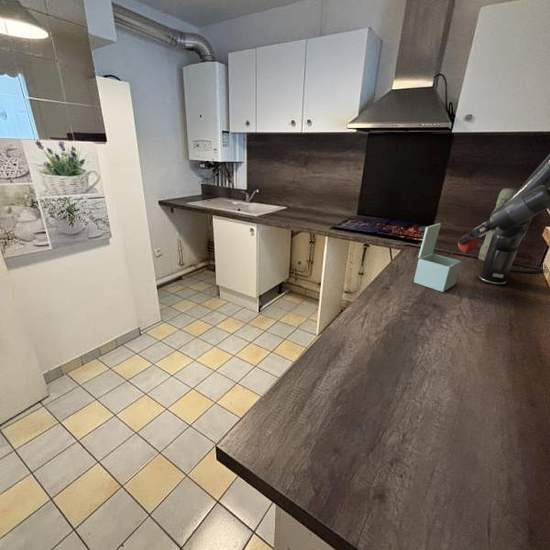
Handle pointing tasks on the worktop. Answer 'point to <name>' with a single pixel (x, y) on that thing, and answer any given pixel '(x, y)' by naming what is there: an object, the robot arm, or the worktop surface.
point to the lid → (429, 239)
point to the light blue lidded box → (437, 272)
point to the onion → (468, 245)
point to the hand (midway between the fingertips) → (462, 240)
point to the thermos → (503, 196)
